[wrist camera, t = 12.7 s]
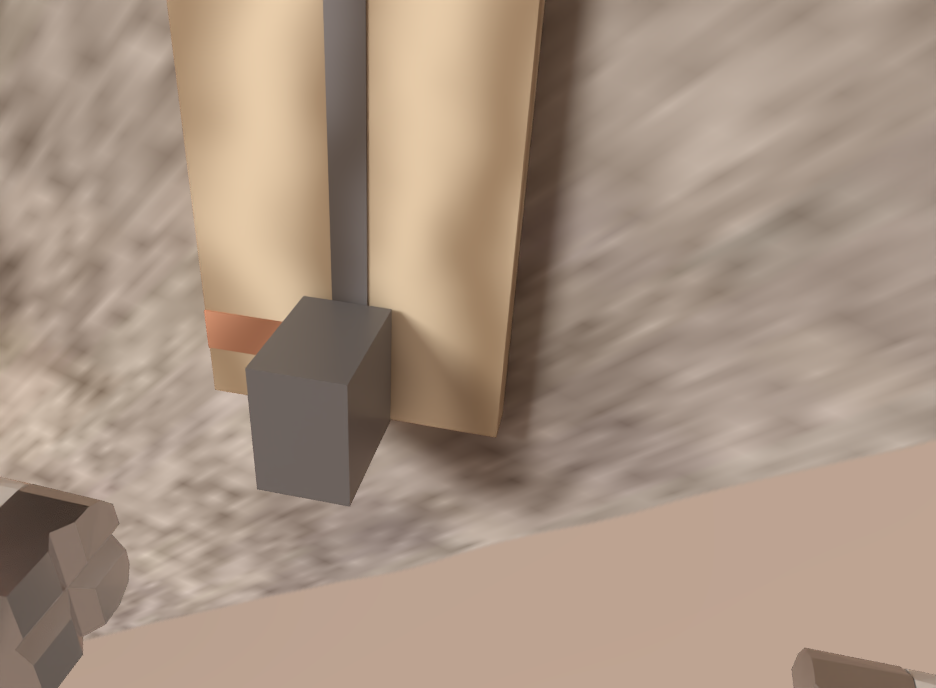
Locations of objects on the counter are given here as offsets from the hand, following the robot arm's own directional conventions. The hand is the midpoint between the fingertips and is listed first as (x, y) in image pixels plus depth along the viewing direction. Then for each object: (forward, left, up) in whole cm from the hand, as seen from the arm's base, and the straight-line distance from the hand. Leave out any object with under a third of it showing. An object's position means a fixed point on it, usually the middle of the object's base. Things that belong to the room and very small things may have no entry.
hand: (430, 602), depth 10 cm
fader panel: (+9, +3, -26) cm, 27 cm away
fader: (+9, +13, -23) cm, 28 cm away
